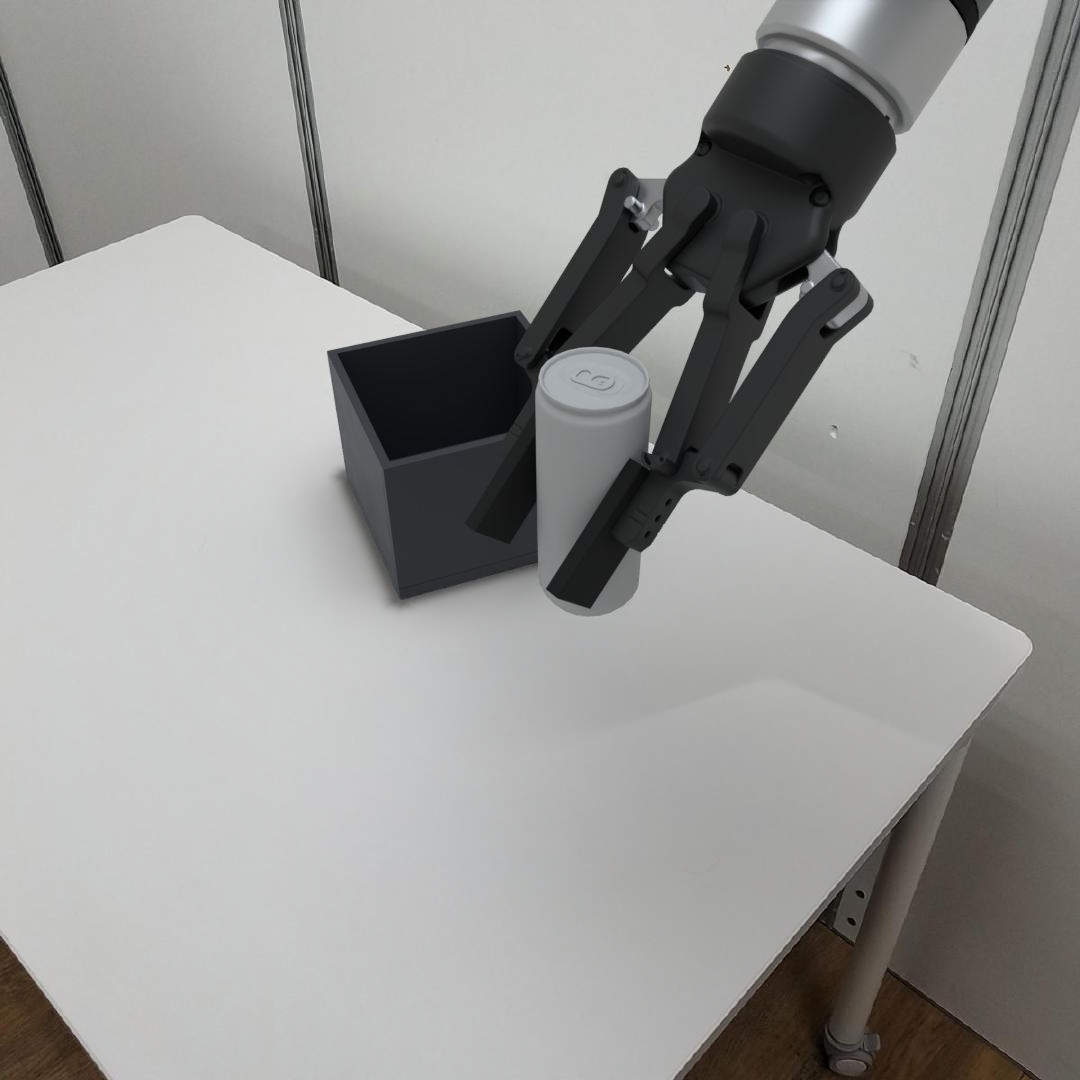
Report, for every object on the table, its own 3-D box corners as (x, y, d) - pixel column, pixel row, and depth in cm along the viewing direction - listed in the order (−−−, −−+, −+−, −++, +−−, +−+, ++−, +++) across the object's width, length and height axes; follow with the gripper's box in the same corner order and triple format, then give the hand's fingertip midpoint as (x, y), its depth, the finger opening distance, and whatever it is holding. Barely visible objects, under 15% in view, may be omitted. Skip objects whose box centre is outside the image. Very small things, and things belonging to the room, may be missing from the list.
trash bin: (596, 545, 78) (600, 416, 70) (400, 600, 74) (383, 469, 66) (523, 433, 88) (520, 309, 80) (346, 476, 84) (326, 350, 76)
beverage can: (606, 637, 51) (616, 425, 43) (518, 598, 53) (512, 387, 45) (656, 575, 54) (674, 365, 46) (571, 540, 56) (573, 333, 48)
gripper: (1037, 209, 44) (711, 692, 47) (704, 85, 54) (455, 489, 57) (996, 109, 38) (626, 671, 41) (630, -10, 48) (356, 449, 51)
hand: (527, 564), depth 49 cm, fingers closed on beverage can, 5 cm apart
